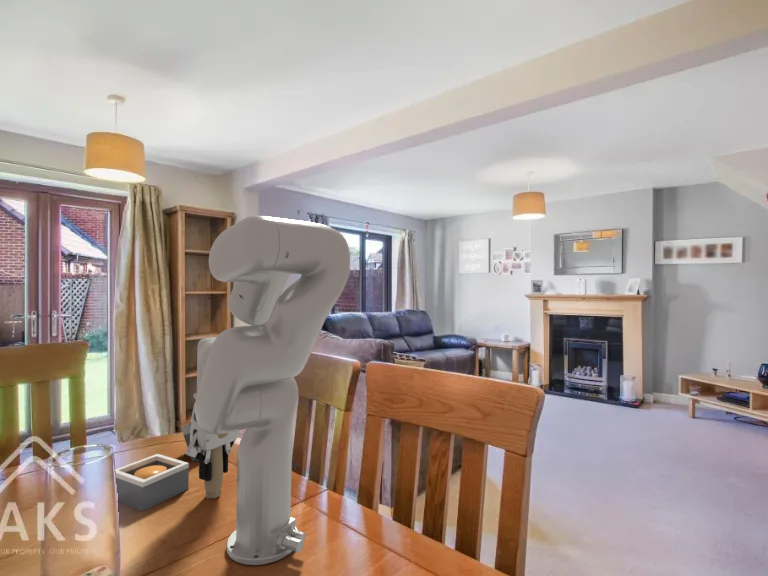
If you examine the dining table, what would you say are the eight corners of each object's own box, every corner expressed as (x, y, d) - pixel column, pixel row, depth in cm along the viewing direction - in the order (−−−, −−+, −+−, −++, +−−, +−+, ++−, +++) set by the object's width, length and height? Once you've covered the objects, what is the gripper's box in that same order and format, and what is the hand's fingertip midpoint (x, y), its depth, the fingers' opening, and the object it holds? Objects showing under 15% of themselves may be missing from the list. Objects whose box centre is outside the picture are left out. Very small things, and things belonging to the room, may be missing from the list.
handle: (212, 504, 90) (213, 434, 90) (194, 496, 94) (195, 428, 94) (231, 495, 94) (232, 428, 94) (214, 487, 98) (215, 423, 98)
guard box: (188, 489, 97) (188, 463, 97) (142, 511, 87) (142, 482, 87) (157, 478, 102) (157, 453, 102) (110, 498, 92) (110, 471, 92)
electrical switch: (207, 460, 113) (204, 426, 113) (186, 466, 111) (183, 431, 110) (203, 448, 121) (200, 416, 121) (183, 453, 119) (180, 421, 118)
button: (172, 477, 96) (173, 469, 96) (146, 489, 90) (146, 480, 90) (154, 471, 99) (154, 463, 99) (127, 482, 93) (127, 473, 93)
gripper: (194, 404, 85) (193, 495, 85) (254, 387, 100) (253, 465, 100) (169, 399, 88) (168, 487, 88) (231, 383, 103) (230, 458, 103)
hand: (213, 474), depth 94 cm, fingers closed on handle, 3 cm apart
